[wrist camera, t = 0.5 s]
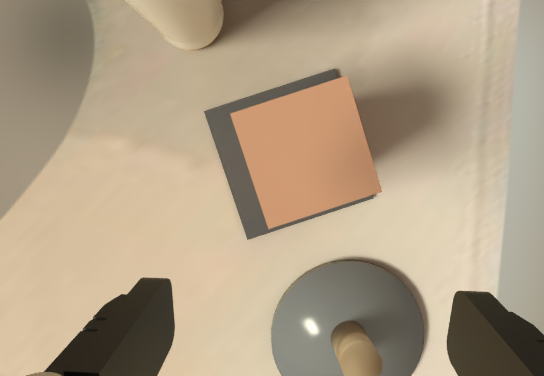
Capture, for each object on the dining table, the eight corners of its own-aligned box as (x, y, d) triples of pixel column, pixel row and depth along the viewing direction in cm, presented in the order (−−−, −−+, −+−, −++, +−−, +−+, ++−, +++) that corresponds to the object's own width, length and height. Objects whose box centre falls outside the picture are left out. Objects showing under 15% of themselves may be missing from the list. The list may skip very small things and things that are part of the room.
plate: (288, 246, 29) (289, 249, 28) (435, 275, 30) (440, 278, 29) (257, 390, 30) (257, 396, 29) (400, 415, 31) (404, 422, 30)
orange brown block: (240, 130, 28) (229, 113, 18) (315, 105, 28) (347, 75, 18) (265, 204, 28) (268, 229, 18) (339, 180, 29) (381, 191, 19)
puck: (335, 317, 29) (347, 343, 25) (369, 324, 29) (386, 350, 25) (327, 351, 29) (337, 381, 25) (361, 357, 29) (377, 388, 25)
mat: (204, 112, 28) (204, 111, 28) (333, 70, 28) (334, 68, 28) (247, 238, 29) (247, 239, 29) (372, 197, 29) (373, 198, 29)
